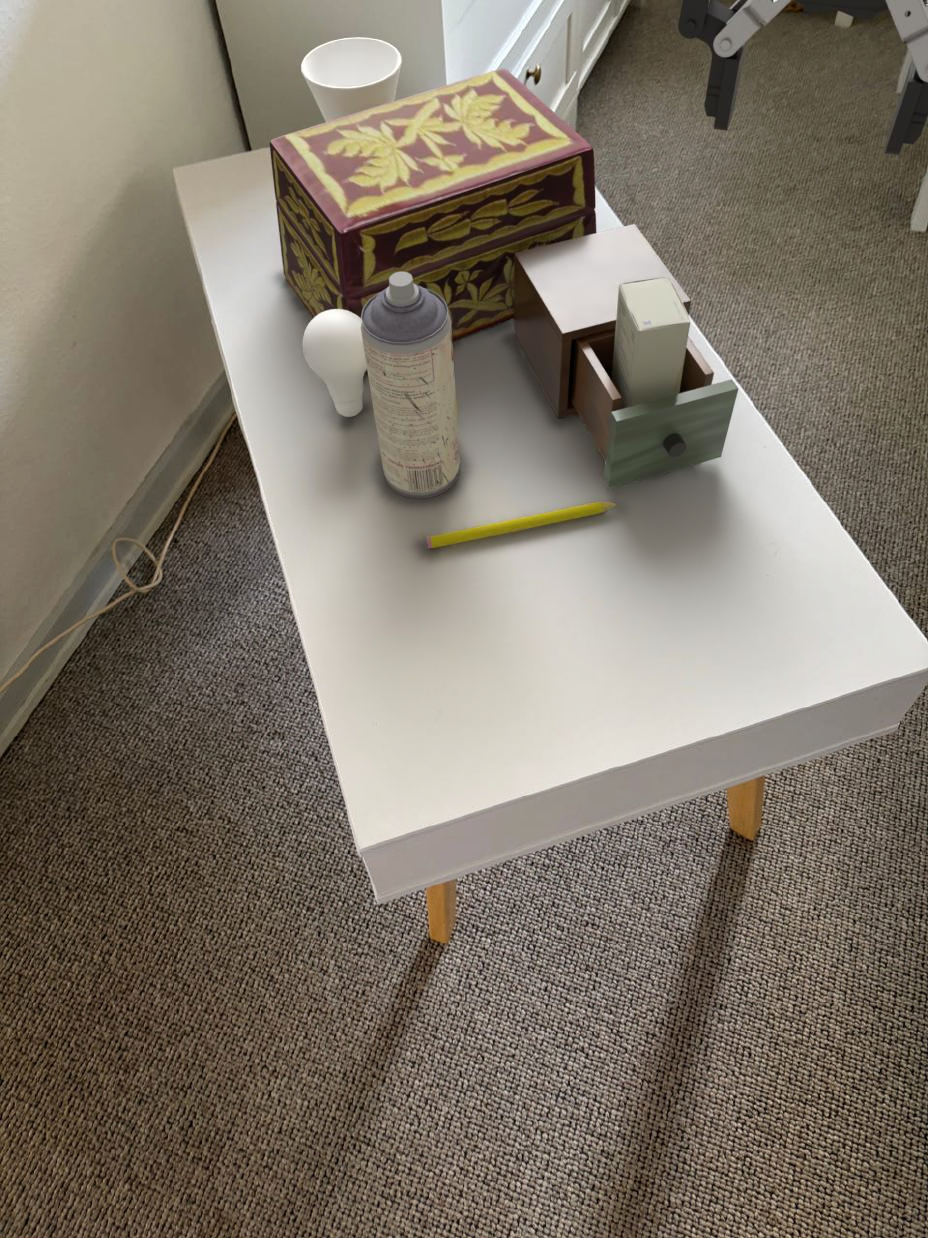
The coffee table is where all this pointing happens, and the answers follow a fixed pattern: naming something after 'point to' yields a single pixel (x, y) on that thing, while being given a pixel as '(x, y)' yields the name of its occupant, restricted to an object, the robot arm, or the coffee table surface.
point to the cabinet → (575, 300)
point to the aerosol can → (412, 387)
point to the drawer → (650, 415)
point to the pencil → (517, 524)
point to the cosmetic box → (649, 341)
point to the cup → (352, 75)
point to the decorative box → (431, 197)
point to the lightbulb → (338, 357)
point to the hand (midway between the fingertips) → (806, 133)
